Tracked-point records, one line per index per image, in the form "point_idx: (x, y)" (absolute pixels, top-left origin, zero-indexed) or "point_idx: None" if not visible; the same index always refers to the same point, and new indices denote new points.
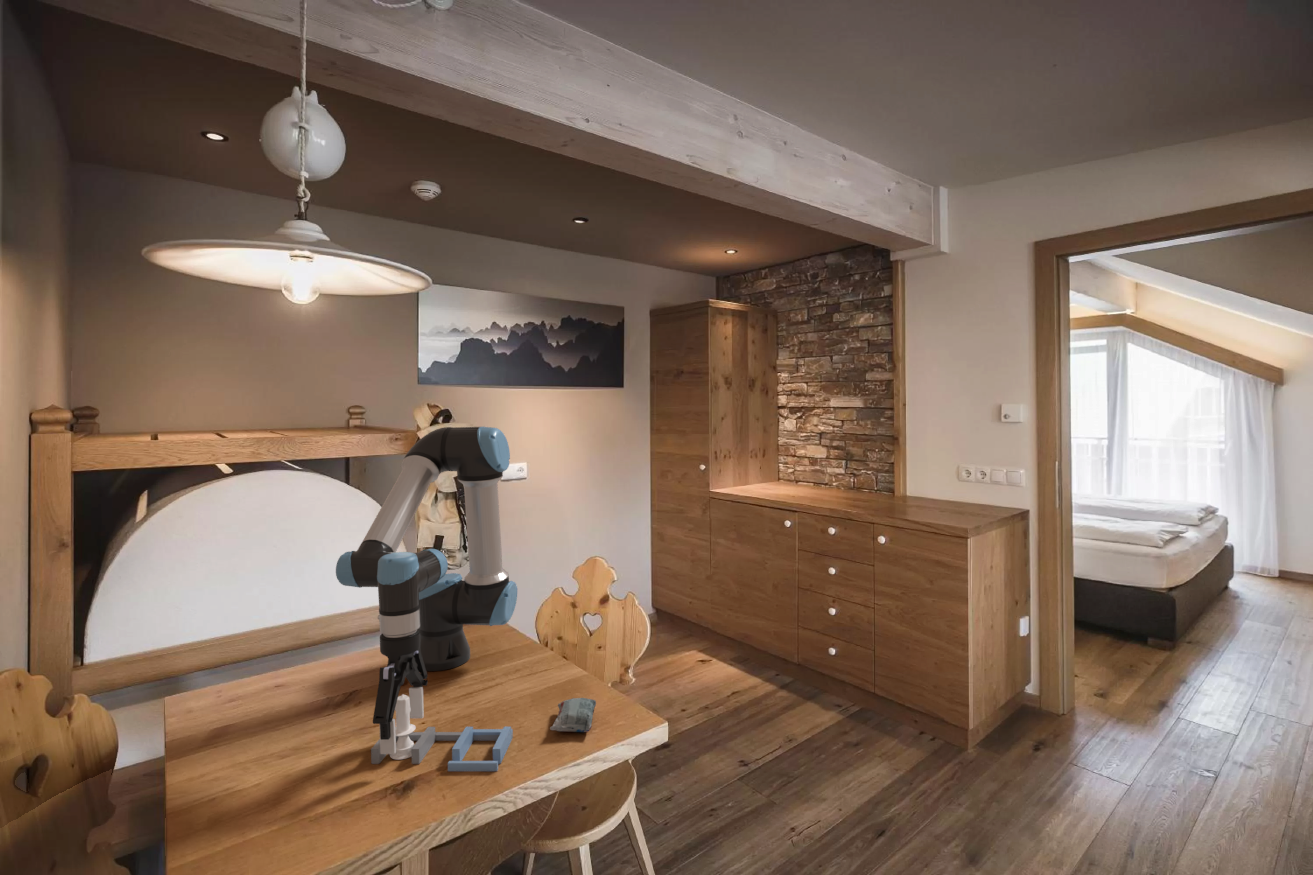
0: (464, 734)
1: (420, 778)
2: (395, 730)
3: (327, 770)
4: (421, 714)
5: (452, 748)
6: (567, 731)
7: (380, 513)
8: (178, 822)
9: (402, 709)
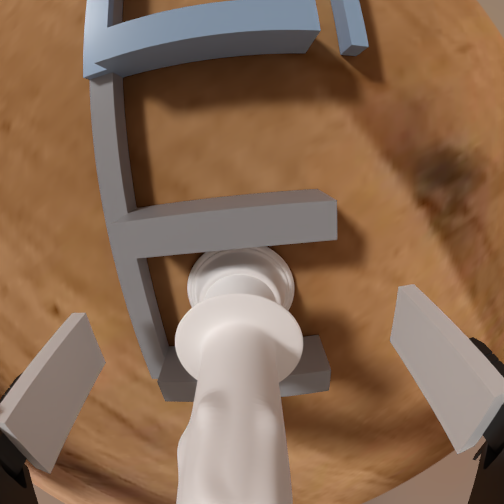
0: (169, 27)
1: (405, 144)
2: (454, 347)
3: (340, 422)
4: (79, 326)
5: (315, 29)
6: None
7: None
8: (431, 465)
9: (285, 449)
